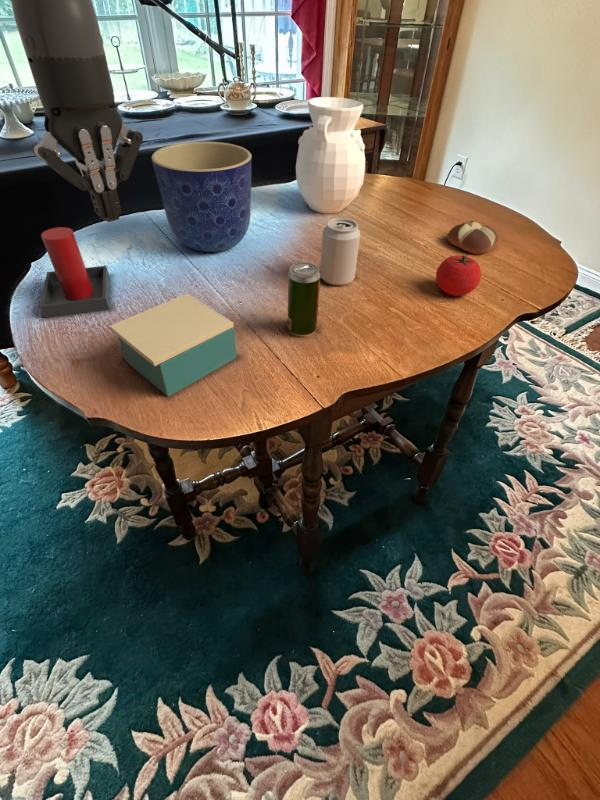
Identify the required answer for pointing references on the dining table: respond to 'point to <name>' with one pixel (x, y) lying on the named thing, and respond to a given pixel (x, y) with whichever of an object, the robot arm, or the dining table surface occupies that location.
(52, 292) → the tray
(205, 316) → the lid
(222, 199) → the planter
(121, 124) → the robot arm
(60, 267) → the plain red cylinder
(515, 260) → the dining table surface
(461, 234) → the bread
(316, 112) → the white vase
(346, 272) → the can
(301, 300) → the beer can
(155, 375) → the teal open box
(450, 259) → the tomato
